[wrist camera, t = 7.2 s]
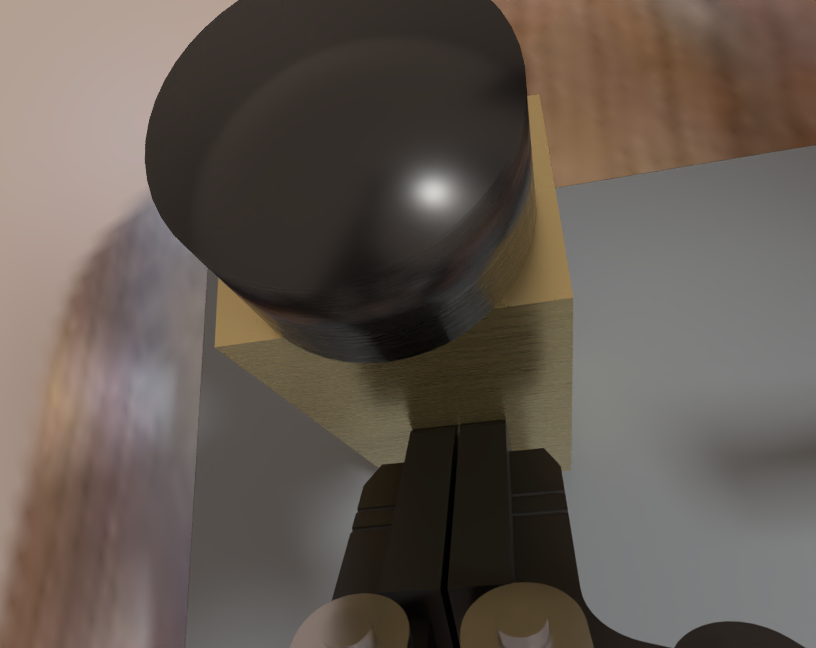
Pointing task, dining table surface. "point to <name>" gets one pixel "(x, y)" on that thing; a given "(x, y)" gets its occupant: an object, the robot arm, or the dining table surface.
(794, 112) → the dining table surface
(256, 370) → the slide lever
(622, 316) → the control board
